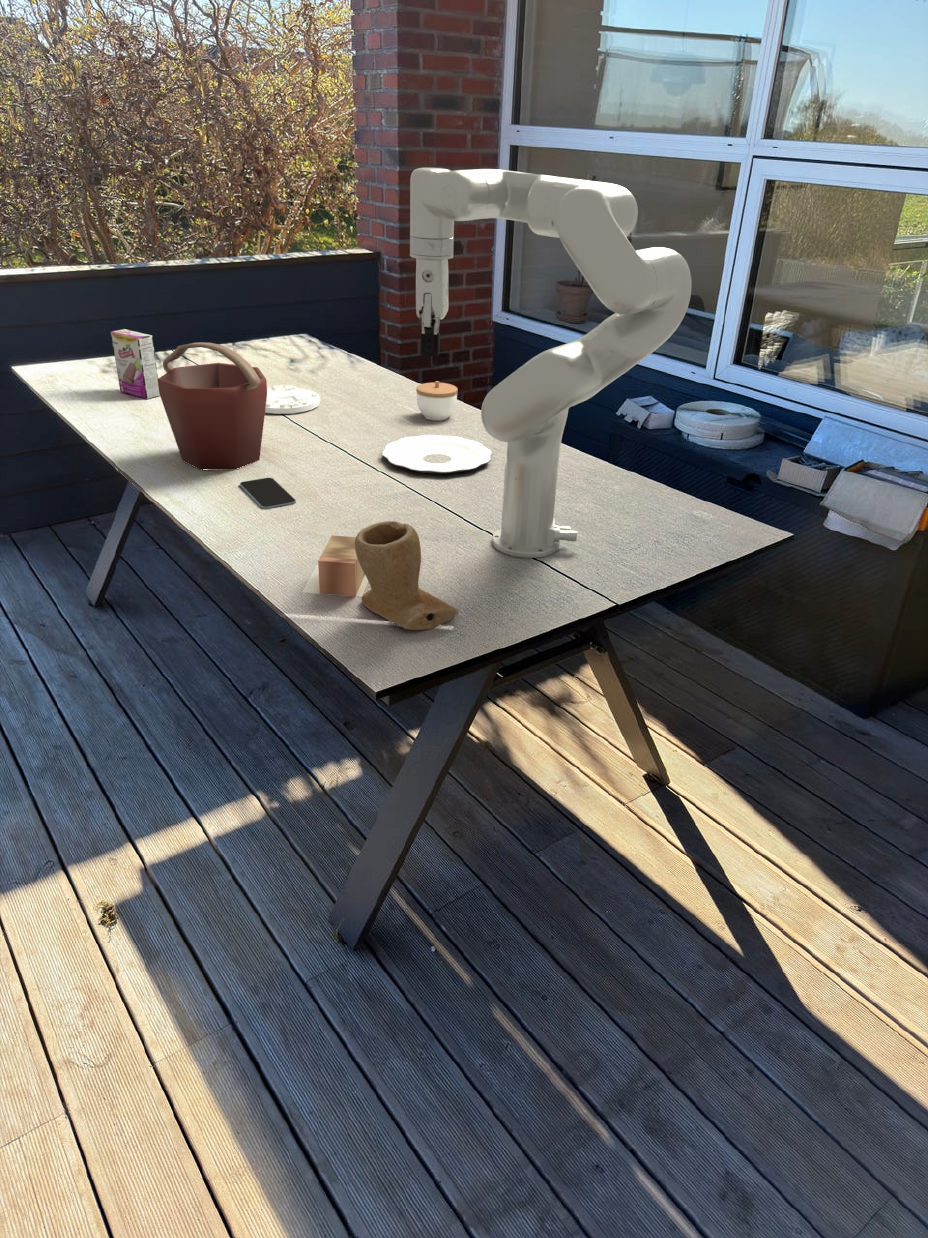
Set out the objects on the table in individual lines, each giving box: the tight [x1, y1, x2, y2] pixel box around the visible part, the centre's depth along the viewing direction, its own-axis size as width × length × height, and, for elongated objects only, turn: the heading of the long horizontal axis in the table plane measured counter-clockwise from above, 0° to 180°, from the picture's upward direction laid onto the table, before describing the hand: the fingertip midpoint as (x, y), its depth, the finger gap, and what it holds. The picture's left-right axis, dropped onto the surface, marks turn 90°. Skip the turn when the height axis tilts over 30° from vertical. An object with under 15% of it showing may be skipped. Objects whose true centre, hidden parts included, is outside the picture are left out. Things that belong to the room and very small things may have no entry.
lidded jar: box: [415, 380, 459, 422], centre depth 232 cm, size 11×11×9 cm
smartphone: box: [239, 477, 297, 510], centre depth 184 cm, size 7×1×15 cm
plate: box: [381, 434, 493, 475], centre depth 206 cm, size 25×25×2 cm
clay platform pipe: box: [355, 520, 459, 631], centre depth 138 cm, size 15×12×15 cm
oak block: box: [317, 534, 365, 597], centre depth 149 cm, size 6×6×10 cm
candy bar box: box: [110, 328, 160, 400], centre depth 239 cm, size 11×5×16 cm, turn 58°
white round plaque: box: [265, 384, 321, 415], centre depth 239 cm, size 20×20×3 cm
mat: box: [301, 563, 369, 598], centre depth 156 cm, size 10×22×1 cm, turn 175°
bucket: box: [157, 341, 268, 471], centre depth 196 cm, size 24×22×25 cm
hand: (430, 355), depth 163 cm, fingers closed
